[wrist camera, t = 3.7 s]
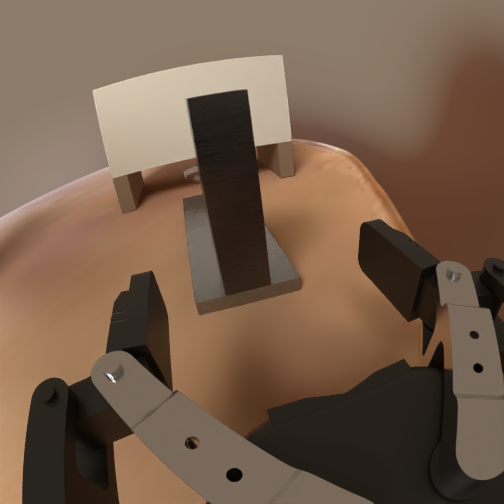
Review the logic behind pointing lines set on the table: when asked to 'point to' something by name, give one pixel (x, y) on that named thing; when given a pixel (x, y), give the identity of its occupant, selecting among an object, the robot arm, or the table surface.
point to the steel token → (192, 175)
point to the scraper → (230, 211)
